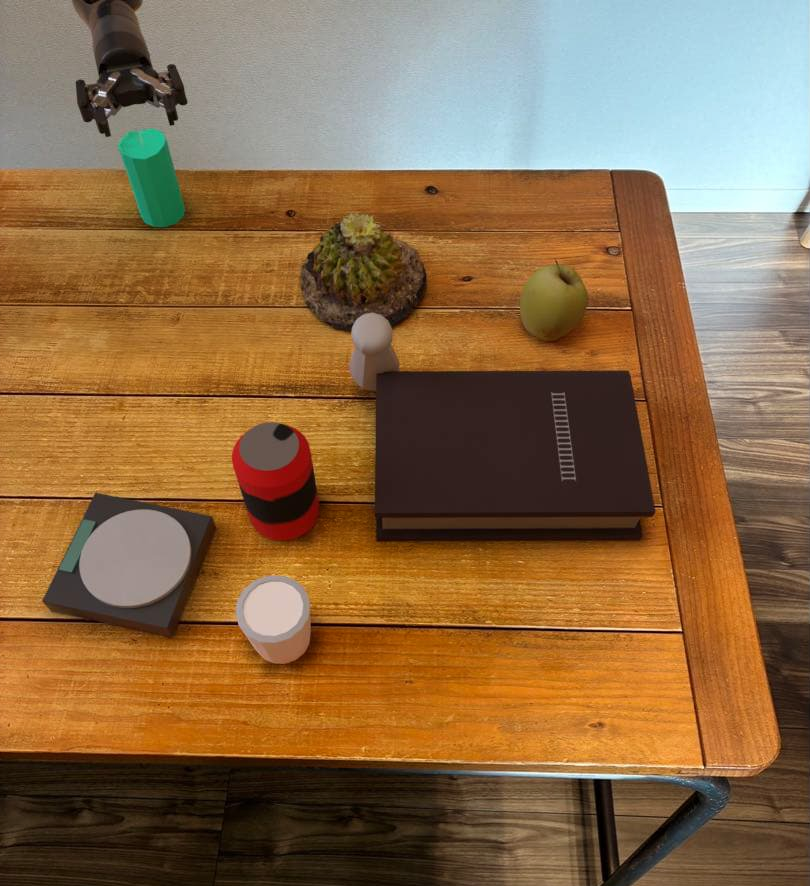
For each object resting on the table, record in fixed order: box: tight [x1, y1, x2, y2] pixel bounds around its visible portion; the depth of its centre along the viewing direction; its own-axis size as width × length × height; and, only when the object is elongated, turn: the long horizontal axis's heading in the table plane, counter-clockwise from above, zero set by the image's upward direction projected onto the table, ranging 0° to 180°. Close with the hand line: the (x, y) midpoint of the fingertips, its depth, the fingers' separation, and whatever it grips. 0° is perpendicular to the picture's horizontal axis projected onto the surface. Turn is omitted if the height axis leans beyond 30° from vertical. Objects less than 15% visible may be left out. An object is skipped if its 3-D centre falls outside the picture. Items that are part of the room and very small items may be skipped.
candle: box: [117, 127, 186, 228], centre depth 106 cm, size 6×6×12 cm
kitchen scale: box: [41, 492, 217, 639], centre depth 83 cm, size 13×13×3 cm
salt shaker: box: [348, 313, 401, 393], centre depth 90 cm, size 6×6×13 cm
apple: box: [519, 259, 589, 342], centre depth 97 cm, size 8×8×10 cm
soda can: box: [231, 421, 320, 541], centre depth 83 cm, size 8×8×12 cm
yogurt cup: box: [234, 574, 311, 665], centre depth 78 cm, size 7×7×7 cm
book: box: [374, 370, 656, 543], centre depth 89 cm, size 28×20×6 cm
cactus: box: [299, 211, 428, 332], centre depth 101 cm, size 17×16×10 cm
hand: (138, 124), depth 109 cm, fingers open, 8 cm apart
